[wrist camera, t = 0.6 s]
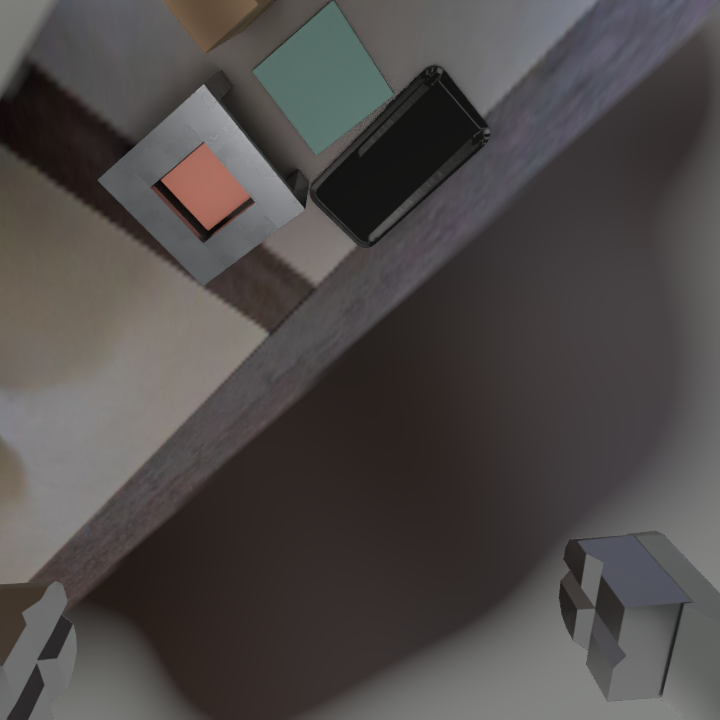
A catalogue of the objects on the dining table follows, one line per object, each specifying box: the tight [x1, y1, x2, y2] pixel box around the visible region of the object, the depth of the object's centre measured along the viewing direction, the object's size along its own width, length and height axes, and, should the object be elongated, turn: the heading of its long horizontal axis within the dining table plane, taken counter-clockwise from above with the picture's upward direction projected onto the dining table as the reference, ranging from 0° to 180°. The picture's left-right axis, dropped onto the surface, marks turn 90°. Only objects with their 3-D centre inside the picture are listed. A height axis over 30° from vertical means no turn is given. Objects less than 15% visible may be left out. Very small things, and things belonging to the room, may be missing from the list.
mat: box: [252, 0, 394, 155], centre depth 45 cm, size 8×8×1 cm
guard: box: [98, 70, 309, 286], centre depth 46 cm, size 11×11×7 cm
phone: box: [310, 66, 490, 248], centre depth 49 cm, size 8×1×15 cm
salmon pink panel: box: [161, 142, 250, 230], centre depth 46 cm, size 5×5×2 cm
